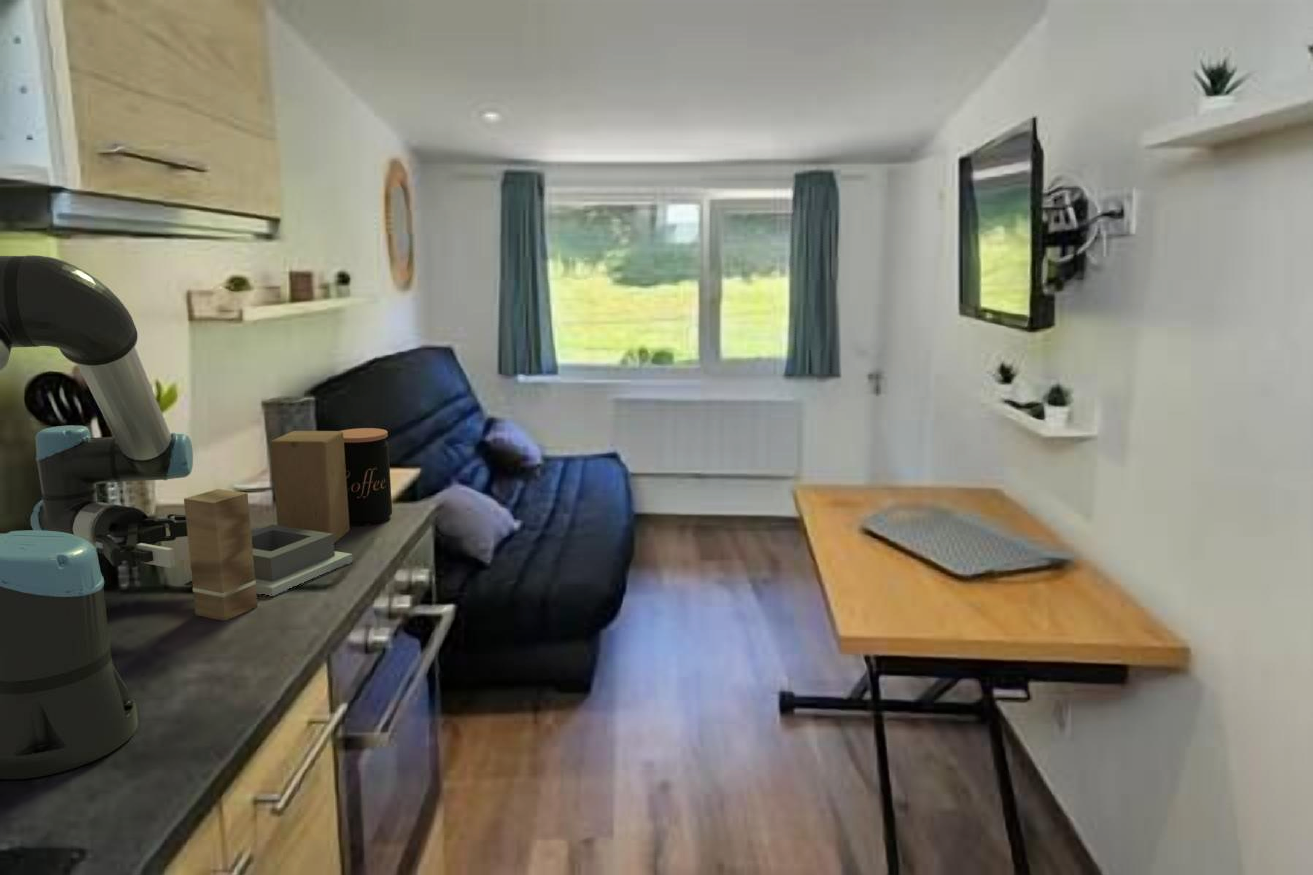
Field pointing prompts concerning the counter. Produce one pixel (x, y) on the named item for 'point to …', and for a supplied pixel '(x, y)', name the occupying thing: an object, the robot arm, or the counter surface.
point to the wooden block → (311, 481)
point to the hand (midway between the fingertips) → (211, 544)
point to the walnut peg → (221, 553)
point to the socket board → (291, 557)
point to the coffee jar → (367, 476)
